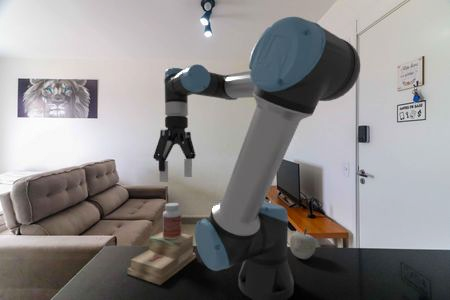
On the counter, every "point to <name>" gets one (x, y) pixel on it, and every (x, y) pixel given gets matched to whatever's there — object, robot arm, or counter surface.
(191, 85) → the robot arm
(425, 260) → the counter surface
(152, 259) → the stand
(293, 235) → the decorative object
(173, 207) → the pill bottle
